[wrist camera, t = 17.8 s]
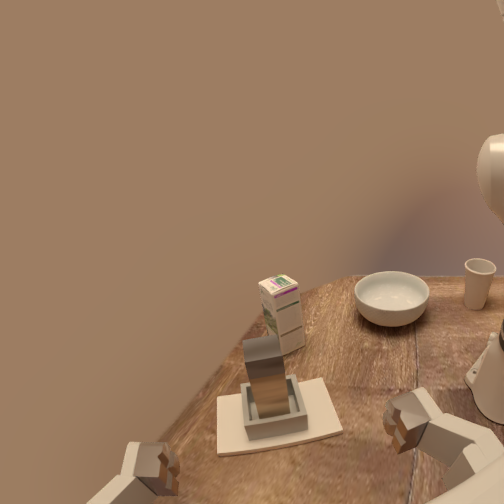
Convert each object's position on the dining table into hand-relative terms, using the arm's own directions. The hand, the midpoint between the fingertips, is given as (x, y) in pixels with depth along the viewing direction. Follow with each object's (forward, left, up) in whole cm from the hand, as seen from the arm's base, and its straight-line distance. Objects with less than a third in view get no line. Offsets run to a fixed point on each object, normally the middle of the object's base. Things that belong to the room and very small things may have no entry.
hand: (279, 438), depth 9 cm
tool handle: (-12, -20, -28) cm, 36 cm away
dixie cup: (-62, -4, -29) cm, 69 cm away
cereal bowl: (-47, -21, -29) cm, 59 cm away
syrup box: (-26, -33, -29) cm, 51 cm away
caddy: (-12, -20, -29) cm, 37 cm away
